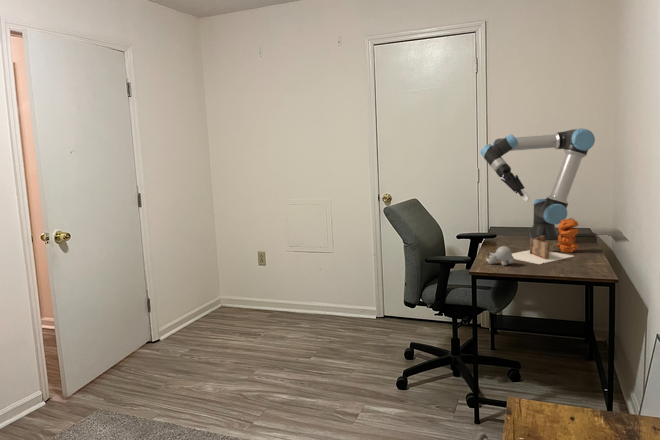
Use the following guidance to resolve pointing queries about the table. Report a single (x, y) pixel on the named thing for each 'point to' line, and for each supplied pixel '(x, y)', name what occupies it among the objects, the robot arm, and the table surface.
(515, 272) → the table surface
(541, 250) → the fence gate
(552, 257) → the card
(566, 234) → the toy dinosaur
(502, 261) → the toy rhinoceros
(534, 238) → the fence fixed
